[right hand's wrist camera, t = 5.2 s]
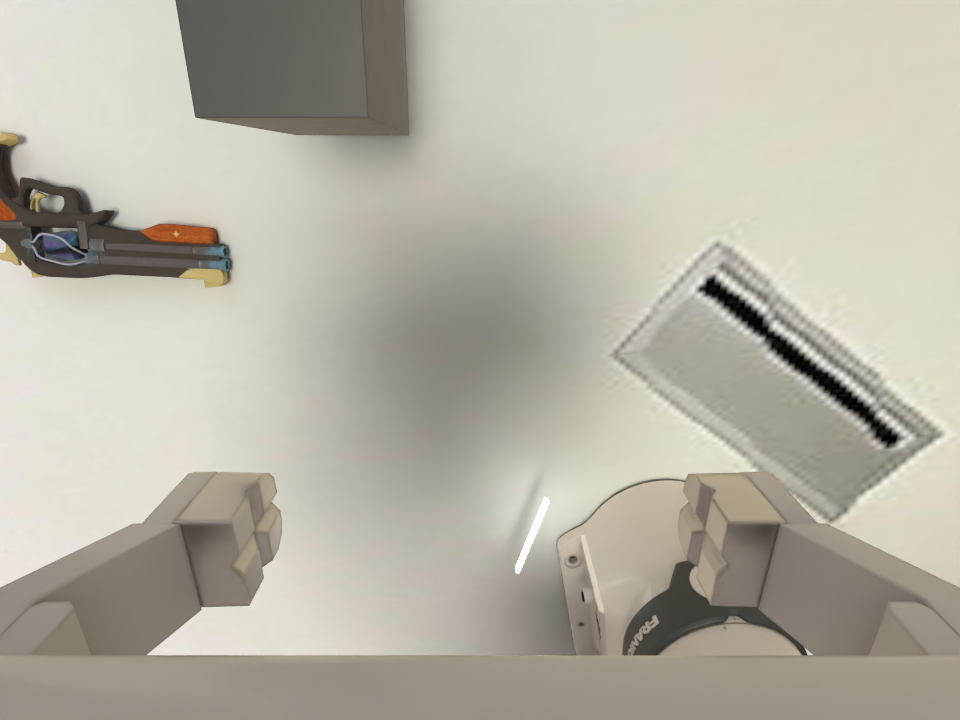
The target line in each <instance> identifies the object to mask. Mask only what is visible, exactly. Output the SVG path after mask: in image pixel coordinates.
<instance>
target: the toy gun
mask: <svg viewBox="0 0 960 720" xmlns="http://www.w3.org/2000/svg"><path fill="white" fill-rule="evenodd" d="M18 142H19V140H18V138H17V136H16V135H15V134H10V133H3V132H0V238H1V239H2V240H3V241H4V242H5V243H6V252H5V253H1V254H0V259H1V260H5V261H10V262H12V263H13V264H15V265H22V264H21V261H20V260H22V261H23V262H24V264H25V265H26V266H27V267H28V268H29V269H30V270H31V271H32V277H41V276H49V277H68V278H89V277H98V276H105V275H111V274H119V275H139V276H160V277H178V278H187V279H204V282H205V288H206V287H215V286H223V285H226V282H228V279H227V273H226V272H228V271H229V268H230V263H229V260H228V259H223V258H226V257H227V255H228V250H227V247H226V246H223V244H217V235H216V231H215V229H213V228H205V227H195V226H185V225H174V224H158V225H155V226H153V227H150V228H147V229H145V230H142V231H128V230H119V229H114V228H111V227H108V226H105V225H104V224H105V223H106V222H107V221H108V220H109V219H110V218H111V216H112V215H113V213H114V211H108V210H103V211H100V212H96V213H91V214H87V213H86V212H85V211H84V208H83V200H82V198H81V196H80V194H79V193H78V192H77V191H76V190H75V189H73V188H67V187H56V186H51V185H48V184H45V183H42V182H39V181H37V180H34V179H30V178H23V177H22V178H21V179H20V190H19V194H18V196H16V195H15V193H14V192H13V190H12V189H11V187H10V185H9V183H8V182H7V180H6V178H5V176H4V172H3V154H4V151H5V149H6V148H7V147H9V146H12V145H15V144H17V143H18ZM33 189H35V190H38V191H42V192H45V193H48V194H53V195H60V196H62V197H63V198H64V201H65V205H64V207H63V209H62V211H61V212H60V213H59V214H55V213H43V212H41V210H40V199H42V198H46V197H47V196H46V195H44V194H42V193H39V192H37V193H36V194H35V195H34V197H33V198H32V200H31V204H30V194H31V192H32V190H33ZM35 200H36V210H34V204H35ZM41 227H53V228H78V232H76V233H74V232H70V231H63V232H57V233H53V234H49V233H42V232H41ZM42 235H43V237H42ZM44 251H45V252H46V253H47V254H49V255H51V256H52V257H54V258H56V259H58V260H59V261H67V260H80V259H85V260H84V261H80V262H76V263H62V262H58V261H54V260H50V259H47V258H45V254H44ZM84 262H85V264H82V265H77V264H81V263H84Z"/></svg>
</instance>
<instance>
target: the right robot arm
mask: <svg viewBox="0 0 960 720" xmlns="http://www.w3.org/2000/svg"><path fill="white" fill-rule="evenodd" d="M276 493H277V489H276V484H275V480H274V477H273V476H272V475H271V474H270V473H241V472H219V473H218V472H193V473H190V474H188V475H187V476H186V477H185V478H184V479H183V480H182V481H181V482H180V483H179V484H178V485H177V486H176V488H175V489H174V490H173V491H172V492H171V493H170V494H169V495H168V496H167V497H166V498H165V499H164V500H163V501H162V503H161V504H160V505H159V506H158V507H157V508H156V509H155V510H154V511H153V512H152V513H151V514H150V515H149V517H148V518H147V519H146V520H145V521H144V522H143V523H142V524H132V525H130V526H128V527H126V528H124V529H121V530H119V531H117V532H115V533H113V534H111V535H109V536H107V537H105V538H103V539H101V540H99V541H96V542H94V543H92V544H90V545H88V546H86V547H84V548H82V549H80V550H78V551H76V552H74V553H71V554H69V555H67V556H65V557H63V558H61V559H59V560H57V561H55V562H53V563H51V564H49V565H47V566H44V567H42V568H40V569H38V570H36V571H34V572H32V573H30V574H28V575H26V576H24V577H22V578H19V579H17V580H15V581H13V582H11V583H9V584H7V585H5V586H3V587H1V588H0V720H960V588H959V587H957V586H955V585H953V584H951V583H949V582H946V581H944V580H942V579H940V578H938V577H936V576H934V575H932V574H930V573H928V572H926V571H924V570H922V569H919V568H917V567H915V566H913V565H911V564H909V563H907V562H905V561H903V560H901V559H899V558H897V557H895V556H892V555H890V554H888V553H886V552H884V551H882V550H880V549H878V548H876V547H874V546H872V545H870V544H868V543H866V542H863V541H861V540H859V539H857V538H855V537H853V536H851V535H849V534H847V533H845V532H843V531H841V530H839V529H836V528H834V527H832V526H830V525H828V524H818V523H817V522H816V521H815V520H814V519H813V518H812V517H811V515H810V514H809V513H808V512H807V511H806V510H805V509H804V508H803V507H802V506H801V505H800V504H799V503H798V501H797V500H796V499H795V498H794V497H793V496H792V495H791V494H790V493H789V492H788V491H787V490H786V489H785V487H784V486H783V485H782V484H781V483H780V482H779V481H778V480H777V479H776V478H775V477H774V476H773V475H772V474H770V473H768V472H740V473H707V474H688V476H687V478H686V480H685V482H682V481H674V480H661V481H652V482H647V483H643V484H639V485H636V486H633V487H631V488H628V489H626V490H624V491H622V492H620V493H618V494H616V495H615V496H613V497H612V498H610V499H609V500H608V501H606V502H605V503H604V504H603V505H602V506H601V507H600V508H599V509H598V510H597V511H596V512H595V513H594V514H593V515H592V516H591V518H590V519H589V520H588V521H587V522H585V523H584V524H583V525H581V526H579V527H577V528H575V529H573V530H571V531H569V532H567V533H566V534H564V535H563V536H562V537H560V539H559V540H558V542H557V551H558V556H559V562H560V568H561V574H562V579H563V585H564V591H565V597H566V602H567V608H568V614H569V620H570V625H571V631H572V637H573V642H574V647H575V651H576V654H577V656H469V655H180V656H163V655H147V654H148V653H149V652H150V651H152V650H153V649H154V648H155V647H157V646H158V645H159V644H160V643H161V642H163V641H164V640H165V639H166V638H167V637H169V636H170V635H171V634H172V633H174V632H175V631H176V630H177V629H178V628H180V627H181V626H182V625H183V624H185V623H186V622H187V621H188V620H189V619H191V618H192V617H193V616H194V615H196V614H197V613H198V612H199V611H200V610H201V607H221V606H249V605H250V603H251V601H252V599H253V597H254V596H255V594H256V592H257V590H258V588H259V586H260V584H261V582H262V580H263V578H264V576H263V570H262V567H263V566H265V565H266V564H268V563H269V562H271V561H272V560H273V559H274V557H275V555H276V553H277V550H278V548H279V544H280V539H281V535H282V519H281V512H280V510H279V509H278V508H277V507H276V506H275V505H274V504H273V503H272V502H271V501H272V500H273V498H274V496H275V494H276ZM548 505H549V500H548V498H547V497H545V498H544V500H543V502H542V505H541V507H540V510H539V512H538V514H537V517H536V519H535V521H534V524H533V526H532V529H531V531H530V533H529V536H528V538H527V540H526V543H525V545H524V548H523V550H522V552H521V555H520V557H519V559H518V562H517V564H516V566H515V570H516V573H519V572H520V570H521V568H522V565H523V563H524V561H525V558H526V556H527V554H528V551H529V549H530V547H531V544H532V542H533V540H534V537H535V535H536V533H537V530H538V528H539V526H540V523H541V521H542V519H543V516H544V514H545V512H546V509H547V507H548ZM571 556H575V557H574V558H570V557H571ZM804 647H805V648H806V649H807V650H809V651H810V652H811V653H812V654H813V655H807V653H806V651H805V648H804Z"/></svg>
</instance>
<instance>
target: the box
mask: <svg viewBox="0 0 960 720" xmlns="http://www.w3.org/2000/svg"><path fill="white" fill-rule="evenodd" d="M176 6H177V12H178V18H179V24H180V29H181V35H182V41H183V47H184V53H185V59H186V65H187V71H188V77H189V83H190V88H191V94H192V100H193V106H194V112H195V117H196V118H201V119H207V120H212V121H218V122H224V123H230V124H236V125H241V126H247V127H253V128H259V129H265V130H271V131H276V132H282V133H288V134H294V135H409V119H408V94H407V69H406V44H405V20H404V0H176Z"/></svg>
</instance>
